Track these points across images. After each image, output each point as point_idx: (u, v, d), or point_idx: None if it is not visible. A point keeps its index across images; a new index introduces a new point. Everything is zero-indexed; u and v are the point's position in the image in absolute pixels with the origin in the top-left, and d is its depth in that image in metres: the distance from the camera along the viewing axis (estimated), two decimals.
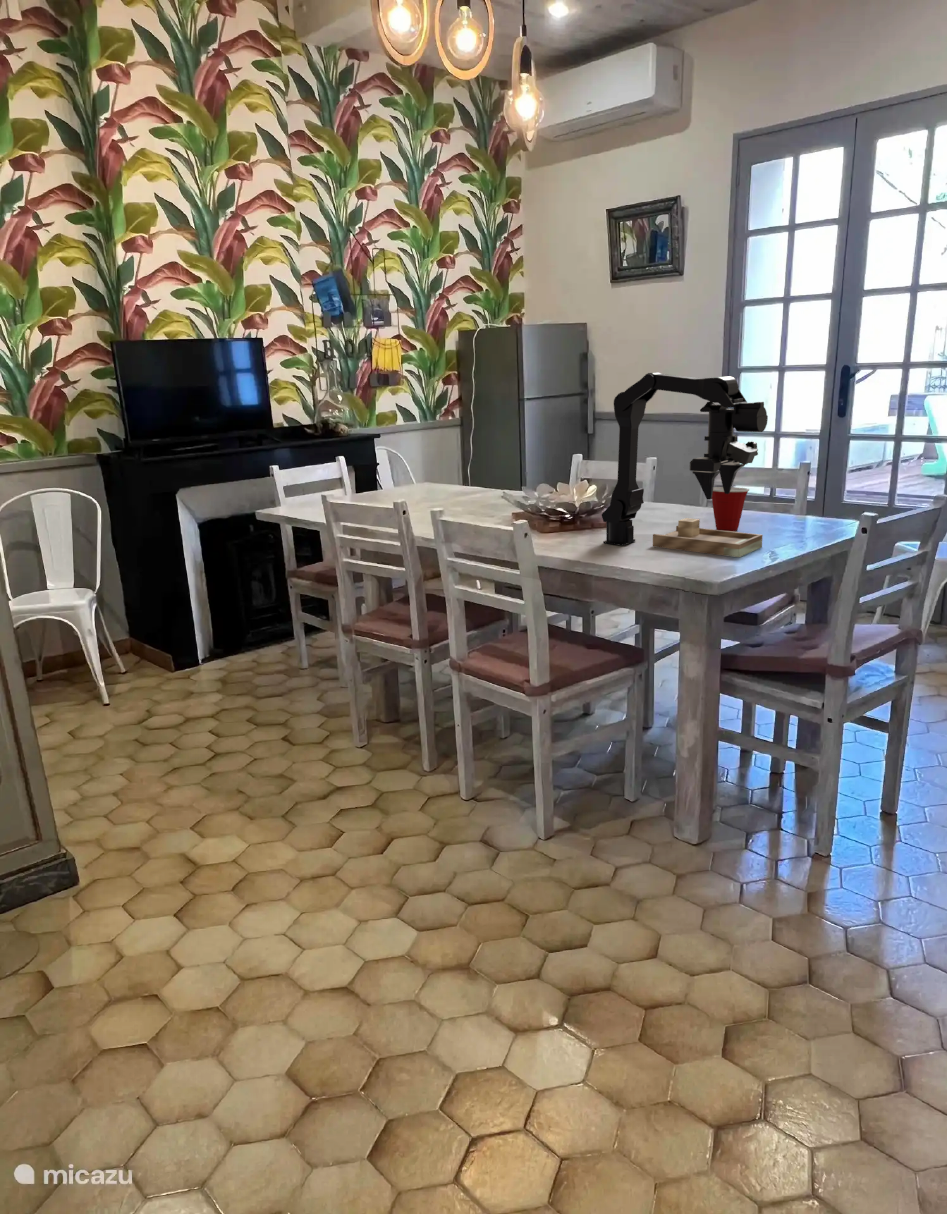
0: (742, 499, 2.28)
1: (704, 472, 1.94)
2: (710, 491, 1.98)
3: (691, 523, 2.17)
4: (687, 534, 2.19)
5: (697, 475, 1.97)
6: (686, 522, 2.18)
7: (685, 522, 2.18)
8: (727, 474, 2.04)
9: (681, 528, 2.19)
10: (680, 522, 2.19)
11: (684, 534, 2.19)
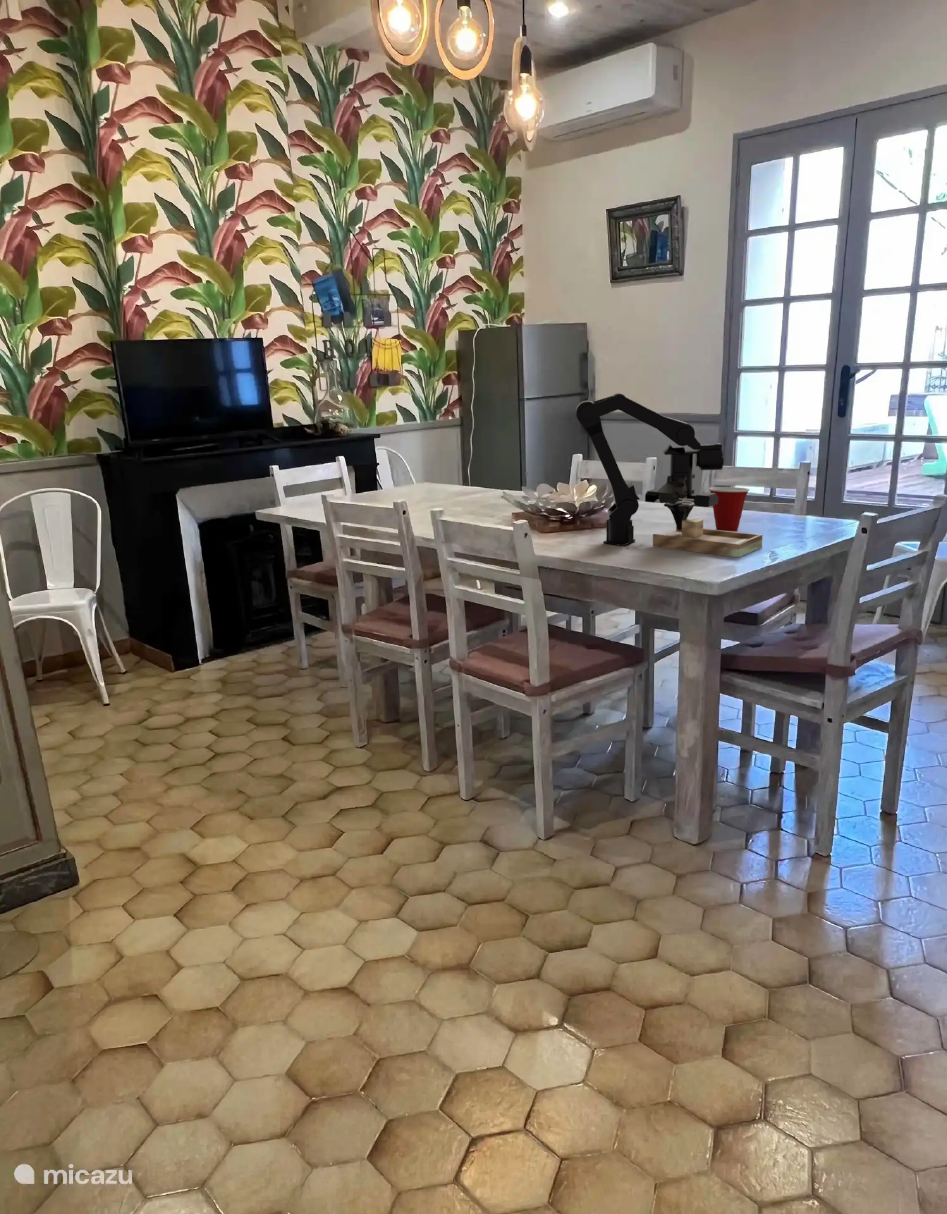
0: (742, 499, 2.28)
1: None
2: None
3: (695, 523, 2.16)
4: (691, 534, 2.18)
5: None
6: (690, 522, 2.17)
7: (689, 522, 2.18)
8: None
9: (685, 529, 2.19)
10: (684, 522, 2.19)
11: (688, 534, 2.19)
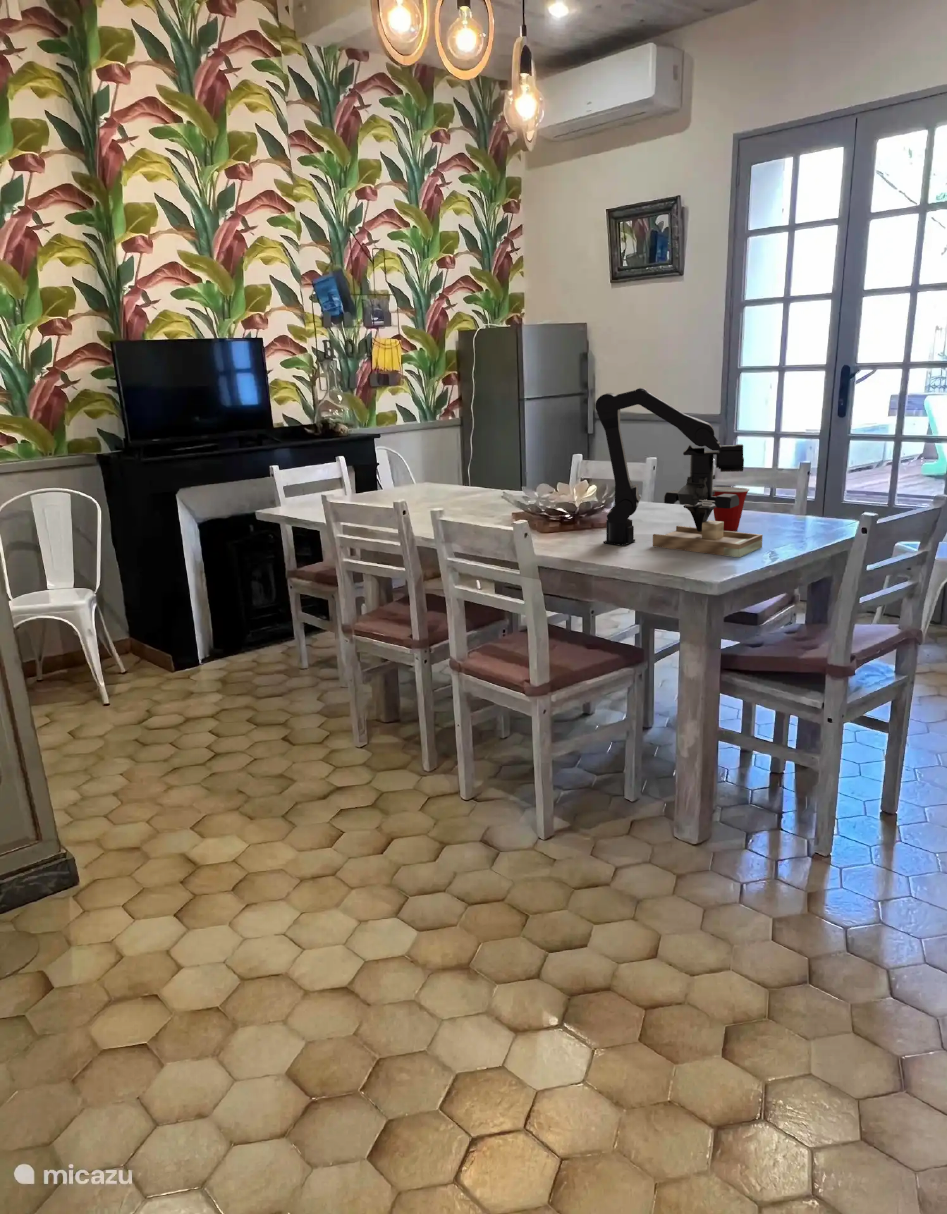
0: (742, 499, 2.28)
1: None
2: None
3: (715, 525, 2.13)
4: (711, 537, 2.14)
5: None
6: (710, 524, 2.14)
7: (709, 524, 2.14)
8: None
9: (705, 531, 2.15)
10: (704, 524, 2.15)
11: (708, 537, 2.15)
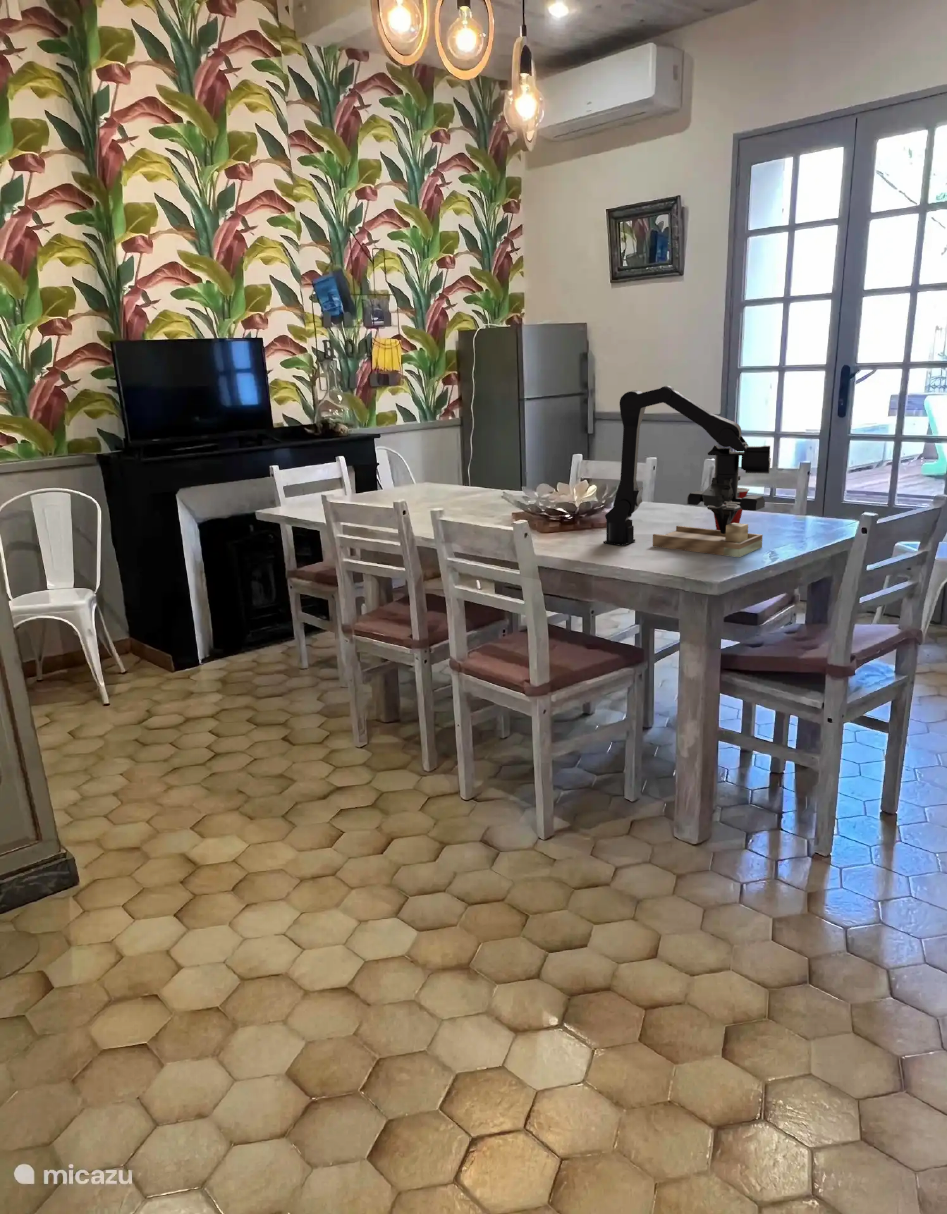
0: None
1: None
2: None
3: (739, 528, 2.08)
4: (735, 539, 2.10)
5: None
6: (734, 527, 2.09)
7: (733, 527, 2.09)
8: None
9: (729, 533, 2.11)
10: (728, 527, 2.10)
11: (732, 539, 2.10)
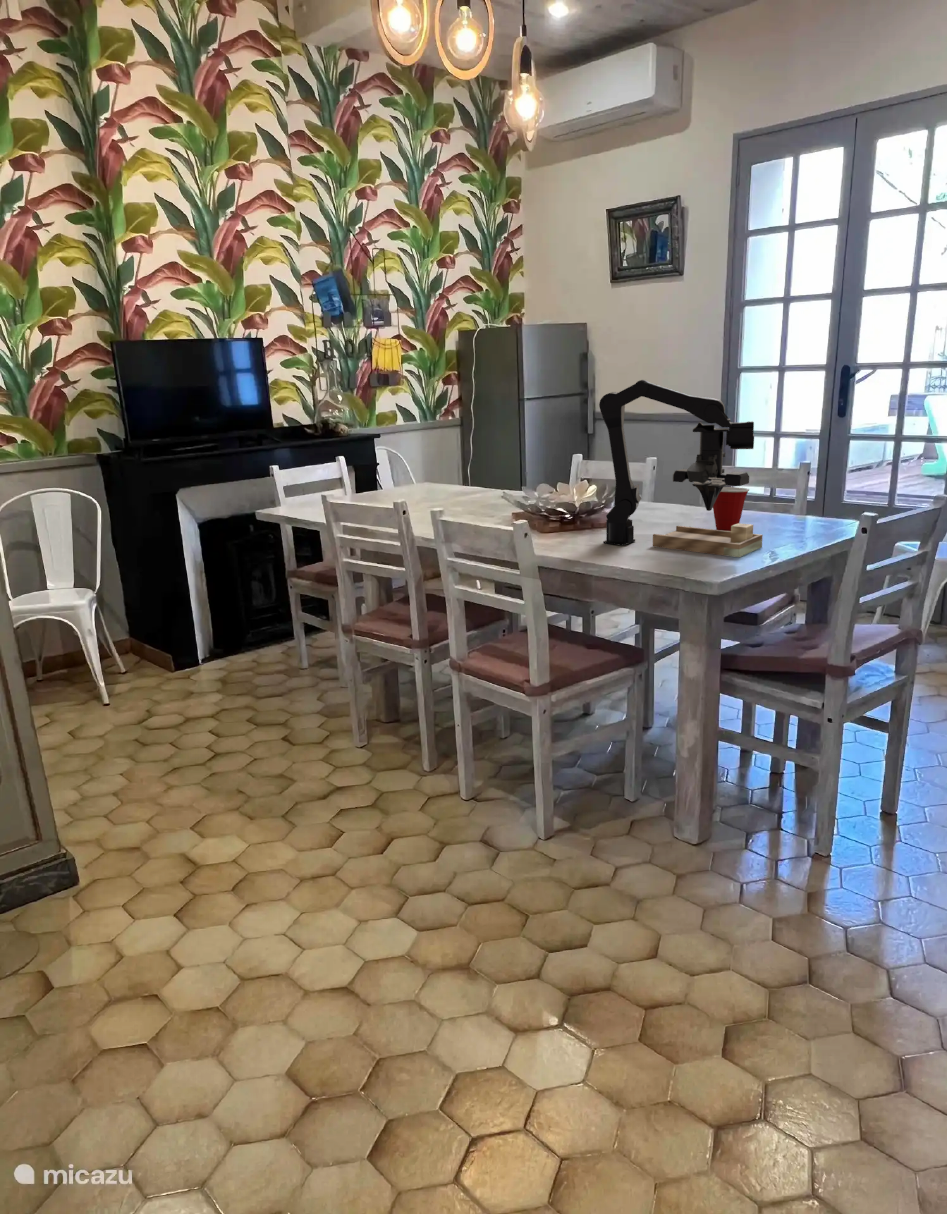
0: (742, 499, 2.28)
1: None
2: None
3: (745, 529, 2.07)
4: (740, 540, 2.09)
5: None
6: (739, 528, 2.08)
7: (738, 528, 2.08)
8: None
9: (734, 534, 2.10)
10: (733, 528, 2.09)
11: (737, 540, 2.09)
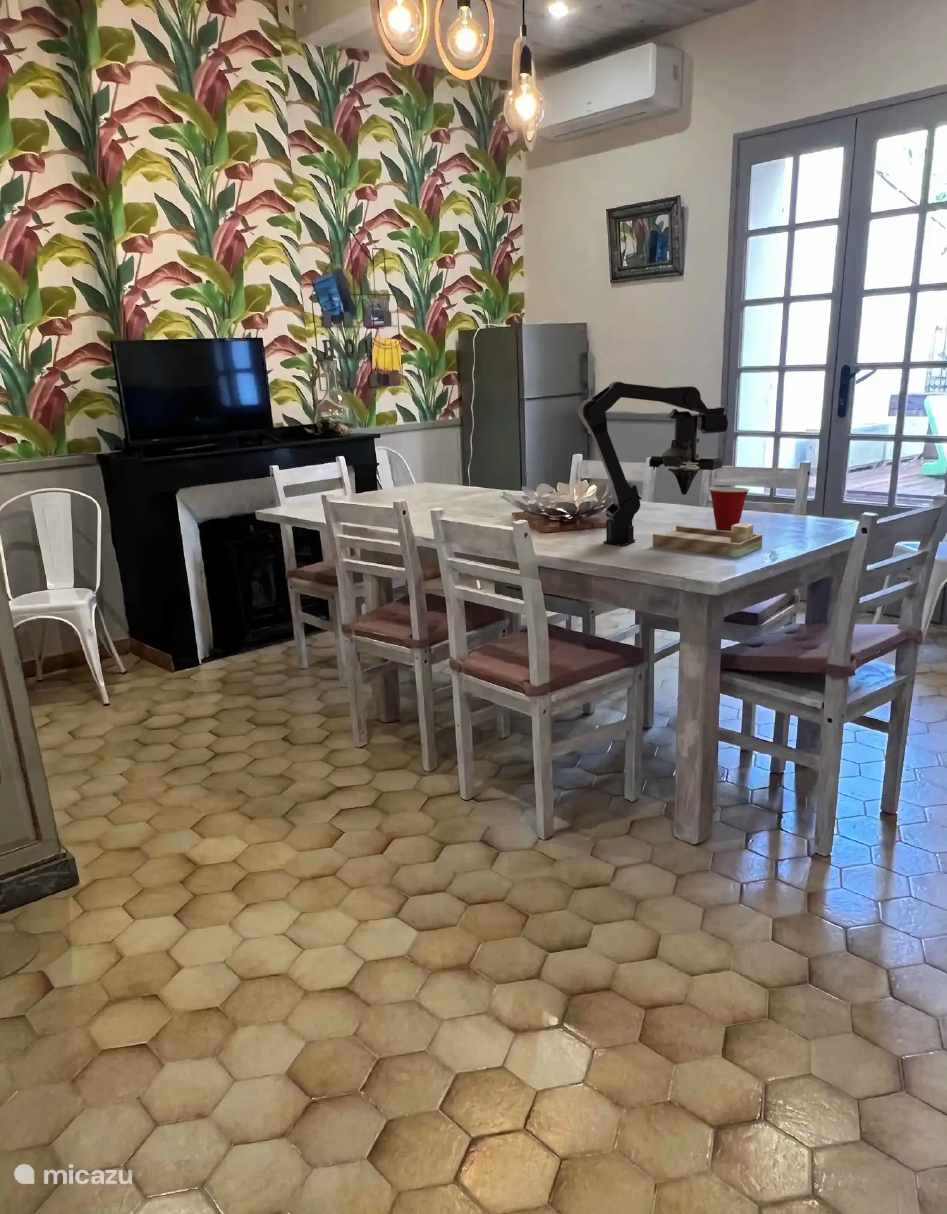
0: (742, 499, 2.28)
1: None
2: None
3: (745, 529, 2.07)
4: (740, 540, 2.09)
5: None
6: (739, 528, 2.08)
7: (738, 528, 2.08)
8: None
9: (734, 534, 2.10)
10: (733, 528, 2.09)
11: (737, 540, 2.09)
